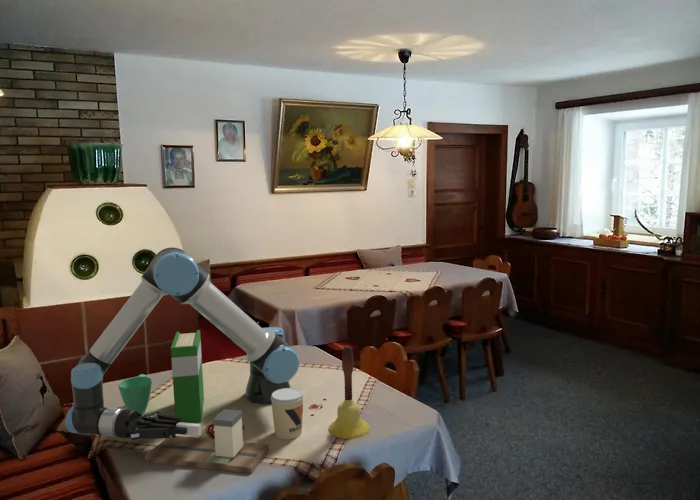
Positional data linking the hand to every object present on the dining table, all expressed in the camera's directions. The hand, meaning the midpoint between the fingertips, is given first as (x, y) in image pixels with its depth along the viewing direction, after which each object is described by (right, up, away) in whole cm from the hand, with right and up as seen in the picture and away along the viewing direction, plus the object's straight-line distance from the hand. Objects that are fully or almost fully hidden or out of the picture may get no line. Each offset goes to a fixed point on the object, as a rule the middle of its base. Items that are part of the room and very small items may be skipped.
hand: (199, 430), depth 145 cm
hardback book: (-11, -4, +29) cm, 31 cm away
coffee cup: (+22, -5, +13) cm, 26 cm away
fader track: (+2, -7, +1) cm, 7 cm away
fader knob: (+8, -5, -1) cm, 10 cm away
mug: (-28, -4, +31) cm, 42 cm away
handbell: (+40, -5, +15) cm, 43 cm away
